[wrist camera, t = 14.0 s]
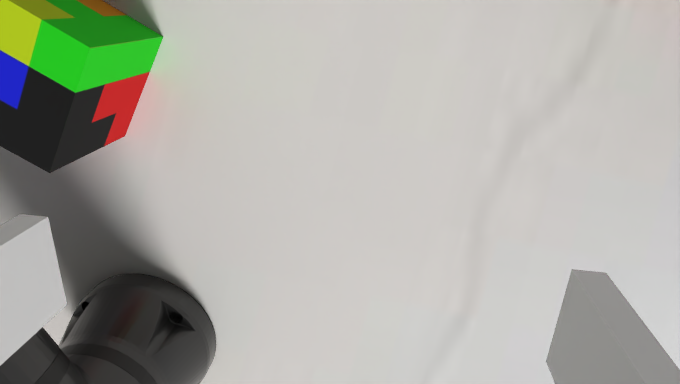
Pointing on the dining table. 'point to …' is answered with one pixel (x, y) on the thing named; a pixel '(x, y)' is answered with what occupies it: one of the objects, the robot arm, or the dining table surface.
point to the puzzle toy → (69, 77)
